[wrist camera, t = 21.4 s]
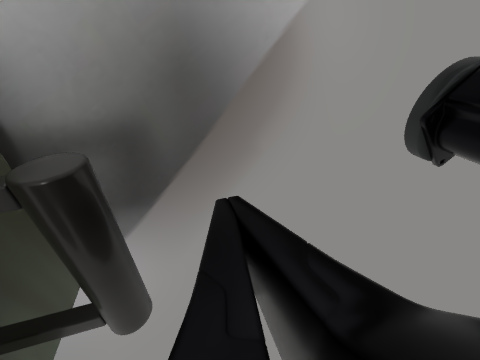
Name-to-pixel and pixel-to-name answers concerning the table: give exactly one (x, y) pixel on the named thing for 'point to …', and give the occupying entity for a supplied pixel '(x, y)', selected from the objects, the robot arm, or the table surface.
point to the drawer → (61, 258)
